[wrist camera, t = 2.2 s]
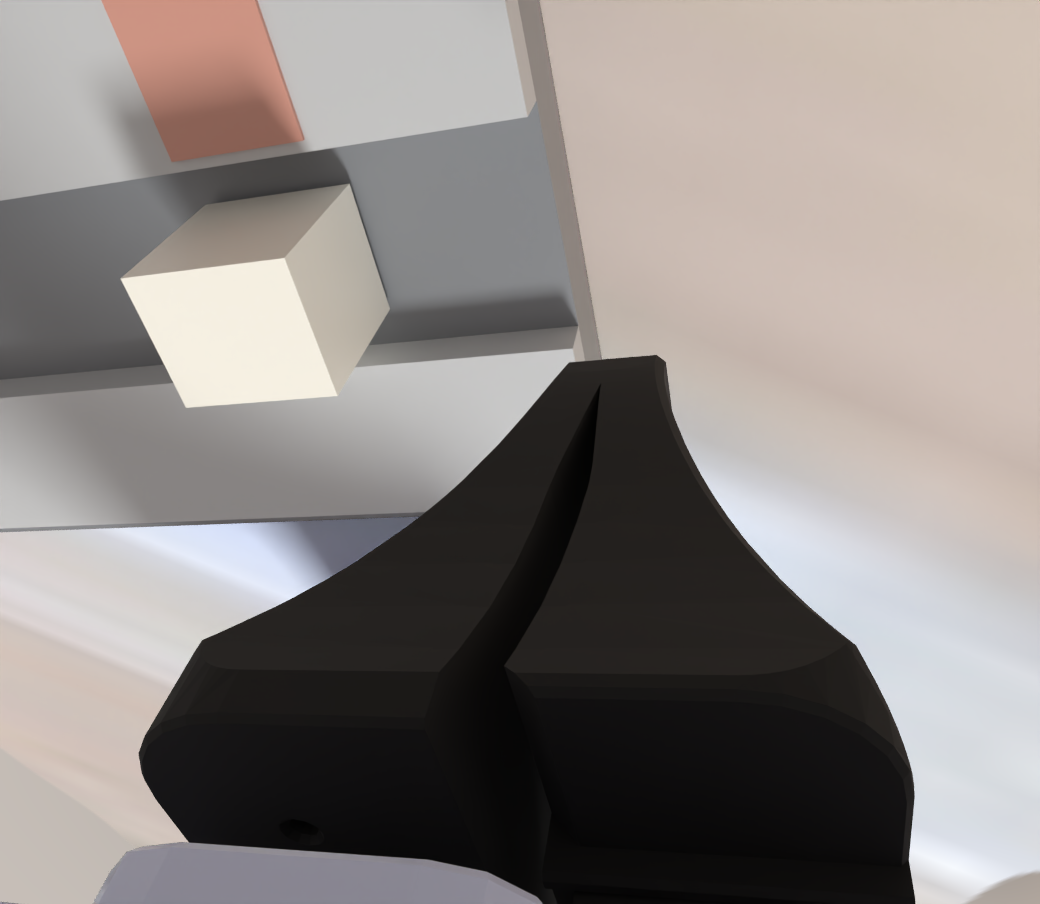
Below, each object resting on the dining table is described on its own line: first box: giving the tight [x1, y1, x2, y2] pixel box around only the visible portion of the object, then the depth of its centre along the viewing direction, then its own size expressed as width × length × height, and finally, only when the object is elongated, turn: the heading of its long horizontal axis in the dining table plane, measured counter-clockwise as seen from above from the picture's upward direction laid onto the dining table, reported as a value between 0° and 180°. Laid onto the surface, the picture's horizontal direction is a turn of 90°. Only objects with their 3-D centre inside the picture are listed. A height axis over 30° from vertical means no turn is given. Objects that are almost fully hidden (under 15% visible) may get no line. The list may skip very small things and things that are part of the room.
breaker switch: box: [120, 184, 390, 408], centre depth 19 cm, size 3×4×4 cm
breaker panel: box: [0, 0, 602, 532], centre depth 22 cm, size 16×24×3 cm, turn 102°
